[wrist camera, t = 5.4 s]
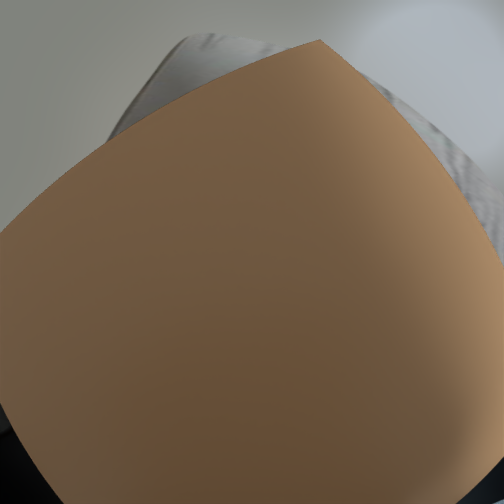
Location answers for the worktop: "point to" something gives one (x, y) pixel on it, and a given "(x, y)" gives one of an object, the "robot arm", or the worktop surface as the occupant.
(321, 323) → the plug
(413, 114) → the worktop surface
